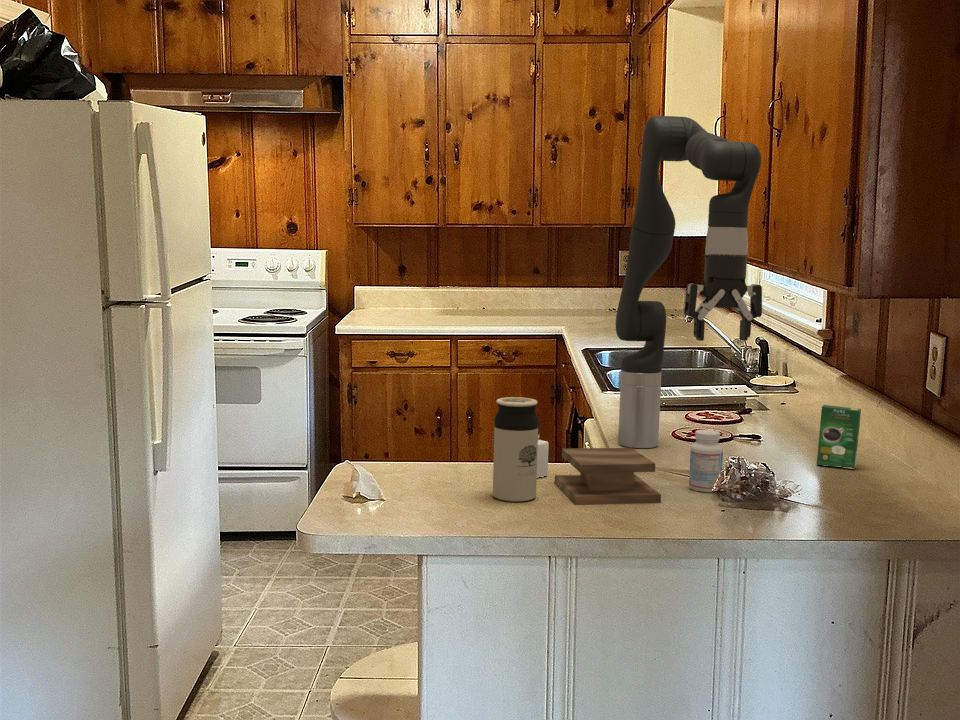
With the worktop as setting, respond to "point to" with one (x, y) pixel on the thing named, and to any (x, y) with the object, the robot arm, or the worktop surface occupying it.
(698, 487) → the pill bottle
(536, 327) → the worktop surface
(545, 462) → the medicine bottle
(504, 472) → the travel mug
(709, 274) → the robot arm
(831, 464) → the coffee box
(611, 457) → the walnut stand
